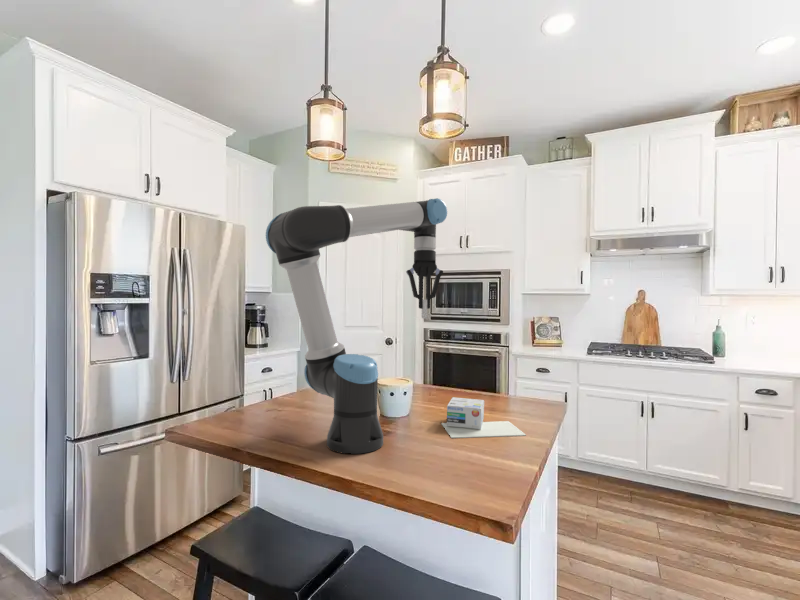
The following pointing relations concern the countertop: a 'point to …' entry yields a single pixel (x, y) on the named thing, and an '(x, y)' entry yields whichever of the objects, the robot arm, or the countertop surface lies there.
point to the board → (485, 430)
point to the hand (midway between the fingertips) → (424, 318)
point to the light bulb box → (465, 413)
